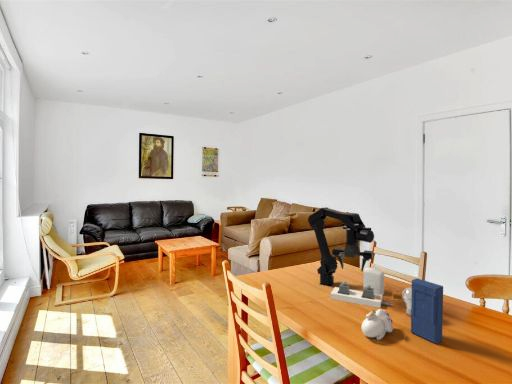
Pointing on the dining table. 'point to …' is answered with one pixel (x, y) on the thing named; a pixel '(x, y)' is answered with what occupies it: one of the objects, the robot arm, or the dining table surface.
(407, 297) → the light bulb
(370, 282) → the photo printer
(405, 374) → the dining table surface
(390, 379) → the dining table surface
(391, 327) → the cat figurine
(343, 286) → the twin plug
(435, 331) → the electronic device
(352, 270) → the dining table surface
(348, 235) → the robot arm
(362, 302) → the strip
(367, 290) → the plug
